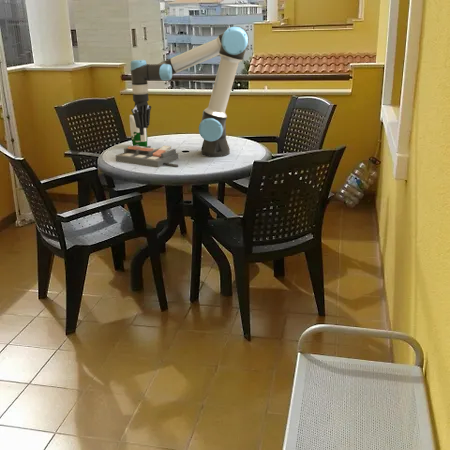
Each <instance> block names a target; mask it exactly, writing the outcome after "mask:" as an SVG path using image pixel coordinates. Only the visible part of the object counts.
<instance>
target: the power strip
mask: <svg viewBox="0 0 450 450" xmlns="http://www.w3.org/2000/svg"><path fill="white" fill-rule="evenodd" d="M134 146H139V145H134ZM144 148H152V147H151V145H147V147H144ZM160 148H161V147H158V149H160ZM158 149H155V150H153V151H142V150H140V149H139V150H134V149H128V147H125V148H124V149H123V152H122V153H121V152H120V153H118V154H116V155H115V161H116V162H119V163H120V162H121V163H125V164H126V163H127V164H135V165H139V166H147V167H153V168H160V167H162V166H167V167H175V168H178V167H179V165H178V164H176V163H173V162H174V161H178V160H179V153H178V152H177V151H176V150H177V149H176V148H171V149H170V150H169V151H167V152H164V153H162V154H161V157H157V156H153V153H154V152H156V151H157V150H158Z"/></svg>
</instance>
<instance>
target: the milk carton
mask: <svg viewBox="0 0 450 450" xmlns="http://www.w3.org/2000/svg"><path fill="white" fill-rule="evenodd" d="M129 129H130V138H131V143H132V146H134V145H139V146H143V147H147V146H148V140H147V141H141V136H140V129H139V128H137V127H136V124H135V120H134V116H133V113H132V114H129Z"/></svg>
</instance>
